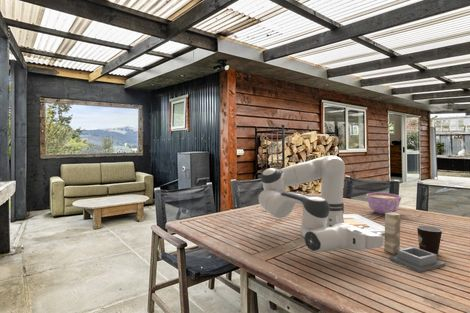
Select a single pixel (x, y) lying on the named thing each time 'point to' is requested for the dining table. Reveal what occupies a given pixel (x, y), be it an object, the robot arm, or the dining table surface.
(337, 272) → the dining table surface
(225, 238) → the dining table surface
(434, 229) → the coffee mug
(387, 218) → the beige wooden block
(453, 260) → the dining table surface
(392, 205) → the bowl of food
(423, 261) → the grey stepped tray
